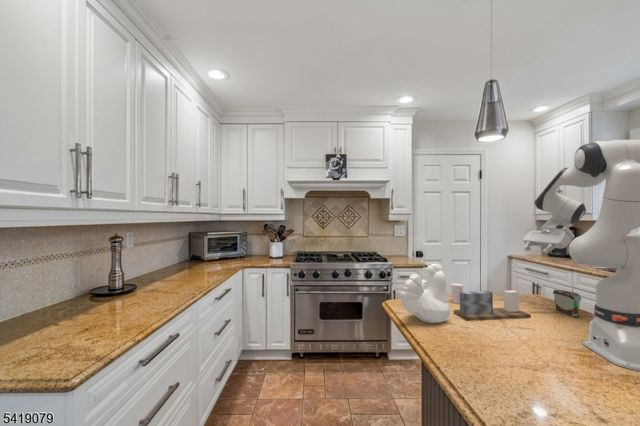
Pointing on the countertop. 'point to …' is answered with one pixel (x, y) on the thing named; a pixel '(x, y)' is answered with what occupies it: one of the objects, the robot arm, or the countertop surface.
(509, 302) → the white cylinder
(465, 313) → the stand
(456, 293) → the smoothie
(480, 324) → the countertop surface
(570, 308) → the food container
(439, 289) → the decorative rooster
